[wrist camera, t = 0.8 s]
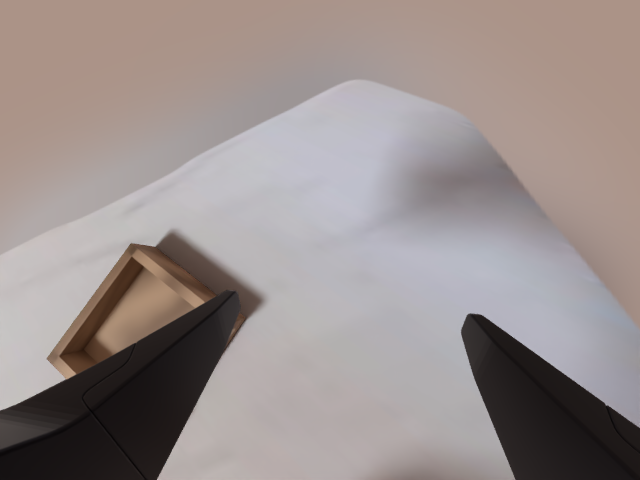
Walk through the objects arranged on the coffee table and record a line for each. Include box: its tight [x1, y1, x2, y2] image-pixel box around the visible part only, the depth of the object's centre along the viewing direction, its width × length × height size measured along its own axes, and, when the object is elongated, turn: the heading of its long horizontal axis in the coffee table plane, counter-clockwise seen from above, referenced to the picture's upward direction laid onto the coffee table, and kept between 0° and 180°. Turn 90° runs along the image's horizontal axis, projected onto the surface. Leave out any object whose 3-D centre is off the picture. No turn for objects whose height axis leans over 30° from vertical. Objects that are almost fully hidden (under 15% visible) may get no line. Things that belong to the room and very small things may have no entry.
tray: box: [47, 243, 245, 379], centre depth 24 cm, size 14×14×3 cm
